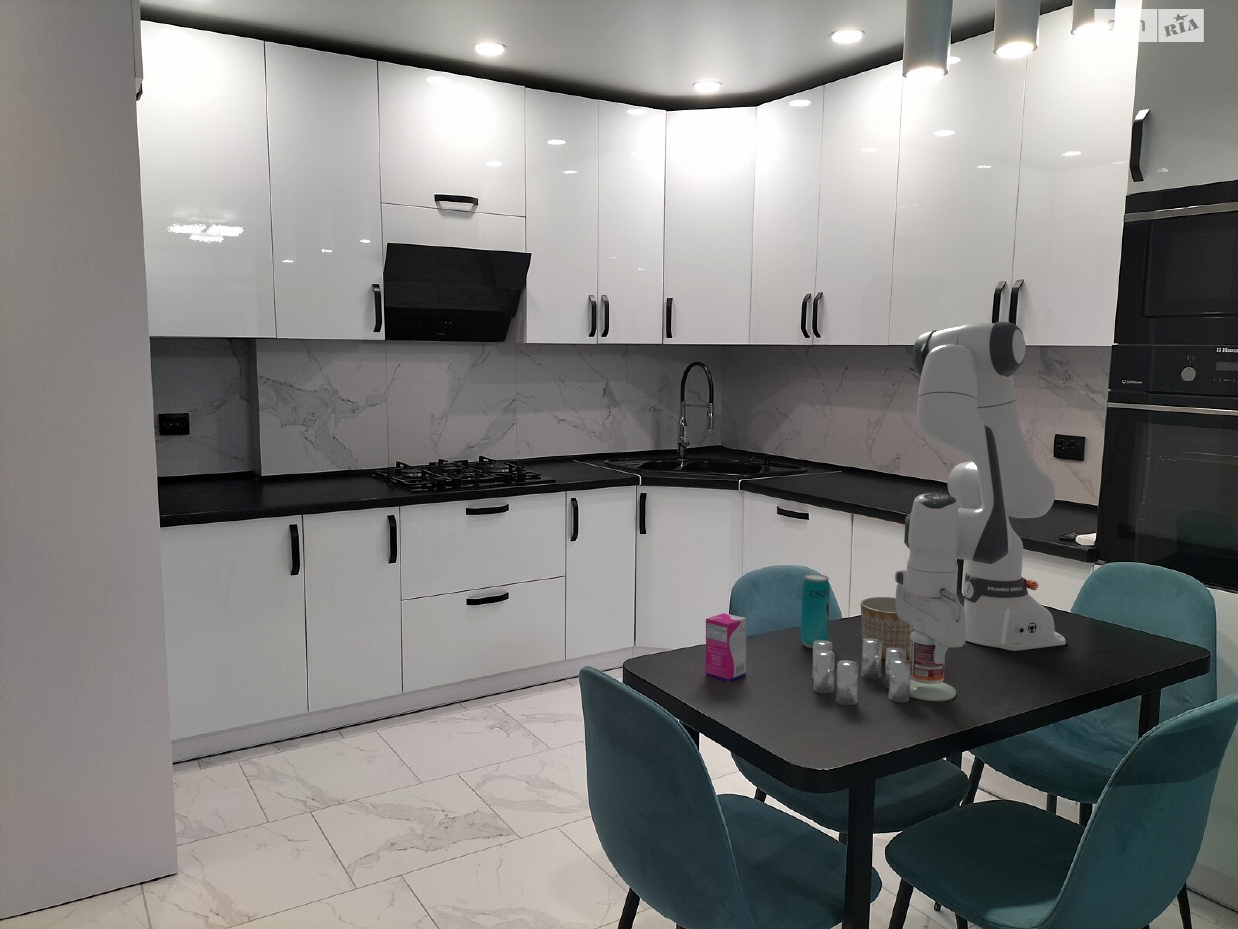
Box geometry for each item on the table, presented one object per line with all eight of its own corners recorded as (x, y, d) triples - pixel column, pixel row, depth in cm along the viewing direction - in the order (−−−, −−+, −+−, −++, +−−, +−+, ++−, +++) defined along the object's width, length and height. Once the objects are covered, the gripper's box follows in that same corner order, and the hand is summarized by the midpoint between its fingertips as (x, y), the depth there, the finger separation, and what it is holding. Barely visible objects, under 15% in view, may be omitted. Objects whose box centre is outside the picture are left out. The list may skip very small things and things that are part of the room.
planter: (932, 653, 190) (934, 605, 188) (902, 667, 181) (904, 616, 180) (878, 640, 199) (880, 593, 197) (847, 652, 190) (848, 604, 189)
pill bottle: (950, 683, 165) (953, 623, 164) (920, 686, 164) (922, 625, 163) (932, 672, 171) (934, 614, 170) (902, 674, 170) (904, 616, 169)
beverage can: (830, 649, 192) (832, 580, 190) (803, 649, 192) (805, 580, 190) (824, 641, 197) (827, 574, 196) (798, 640, 197) (800, 573, 196)
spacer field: (885, 672, 178) (886, 637, 177) (923, 701, 162) (925, 664, 162) (799, 676, 175) (800, 641, 174) (830, 706, 160) (831, 668, 159)
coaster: (938, 680, 173) (939, 677, 173) (966, 699, 164) (966, 696, 163) (889, 683, 172) (889, 679, 172) (914, 702, 162) (914, 699, 162)
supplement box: (722, 668, 179) (724, 612, 178) (746, 675, 175) (748, 618, 174) (704, 675, 175) (705, 617, 174) (728, 683, 171) (729, 624, 170)
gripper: (977, 597, 156) (973, 674, 157) (921, 569, 176) (918, 639, 177) (943, 598, 155) (939, 676, 156) (890, 570, 175) (887, 640, 176)
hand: (927, 656), depth 167 cm, fingers closed on pill bottle, 6 cm apart
